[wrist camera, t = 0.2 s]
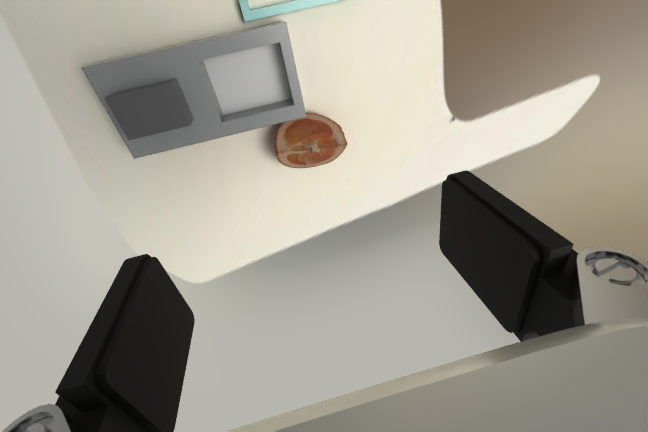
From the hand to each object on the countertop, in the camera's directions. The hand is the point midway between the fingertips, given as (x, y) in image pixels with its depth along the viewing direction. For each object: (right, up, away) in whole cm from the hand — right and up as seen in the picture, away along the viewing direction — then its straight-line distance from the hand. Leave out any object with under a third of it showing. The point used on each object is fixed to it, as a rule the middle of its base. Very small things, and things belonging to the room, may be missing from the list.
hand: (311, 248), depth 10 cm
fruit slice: (-2, +11, +29) cm, 32 cm away
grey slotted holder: (-12, +15, +24) cm, 31 cm away
